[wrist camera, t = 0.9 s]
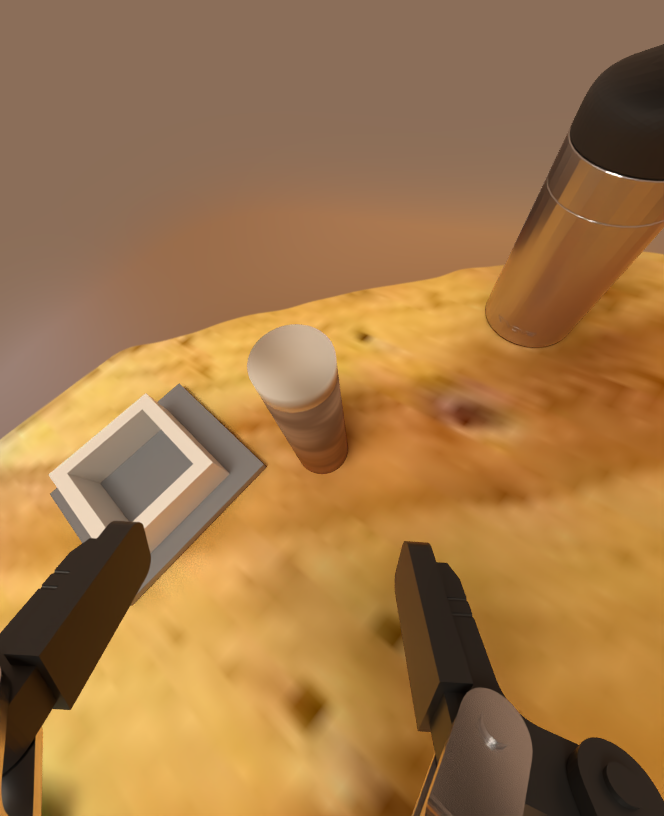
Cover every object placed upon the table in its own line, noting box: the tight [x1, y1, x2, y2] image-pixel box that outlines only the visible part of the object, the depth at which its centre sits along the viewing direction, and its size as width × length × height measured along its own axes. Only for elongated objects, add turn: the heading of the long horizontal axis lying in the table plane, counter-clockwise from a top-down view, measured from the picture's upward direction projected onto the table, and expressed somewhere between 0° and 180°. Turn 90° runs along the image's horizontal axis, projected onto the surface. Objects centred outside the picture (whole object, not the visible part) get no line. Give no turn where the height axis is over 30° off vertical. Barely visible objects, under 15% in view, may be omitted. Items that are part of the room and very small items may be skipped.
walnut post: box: [247, 324, 348, 474], centre depth 26 cm, size 5×5×16 cm
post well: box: [49, 384, 266, 606], centre depth 31 cm, size 16×14×5 cm
